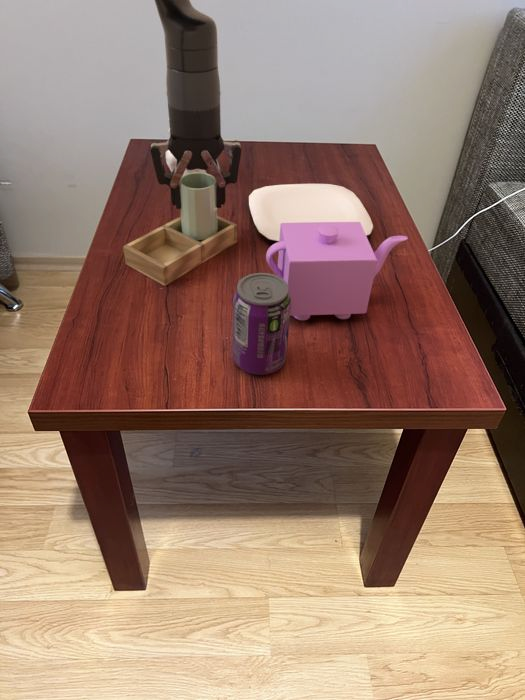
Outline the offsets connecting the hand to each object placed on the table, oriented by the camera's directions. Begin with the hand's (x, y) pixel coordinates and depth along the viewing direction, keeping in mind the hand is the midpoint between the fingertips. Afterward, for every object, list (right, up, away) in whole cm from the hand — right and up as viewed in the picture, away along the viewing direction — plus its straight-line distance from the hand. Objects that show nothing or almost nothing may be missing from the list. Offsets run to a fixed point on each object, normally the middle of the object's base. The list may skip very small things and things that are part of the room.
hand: (198, 205), depth 89 cm
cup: (0, -3, +3) cm, 5 cm away
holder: (-3, -7, +2) cm, 8 cm away
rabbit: (-5, +13, +24) cm, 28 cm away
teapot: (+21, -16, -6) cm, 27 cm away
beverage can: (+10, -25, -16) cm, 31 cm away
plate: (+19, +1, +13) cm, 23 cm away
